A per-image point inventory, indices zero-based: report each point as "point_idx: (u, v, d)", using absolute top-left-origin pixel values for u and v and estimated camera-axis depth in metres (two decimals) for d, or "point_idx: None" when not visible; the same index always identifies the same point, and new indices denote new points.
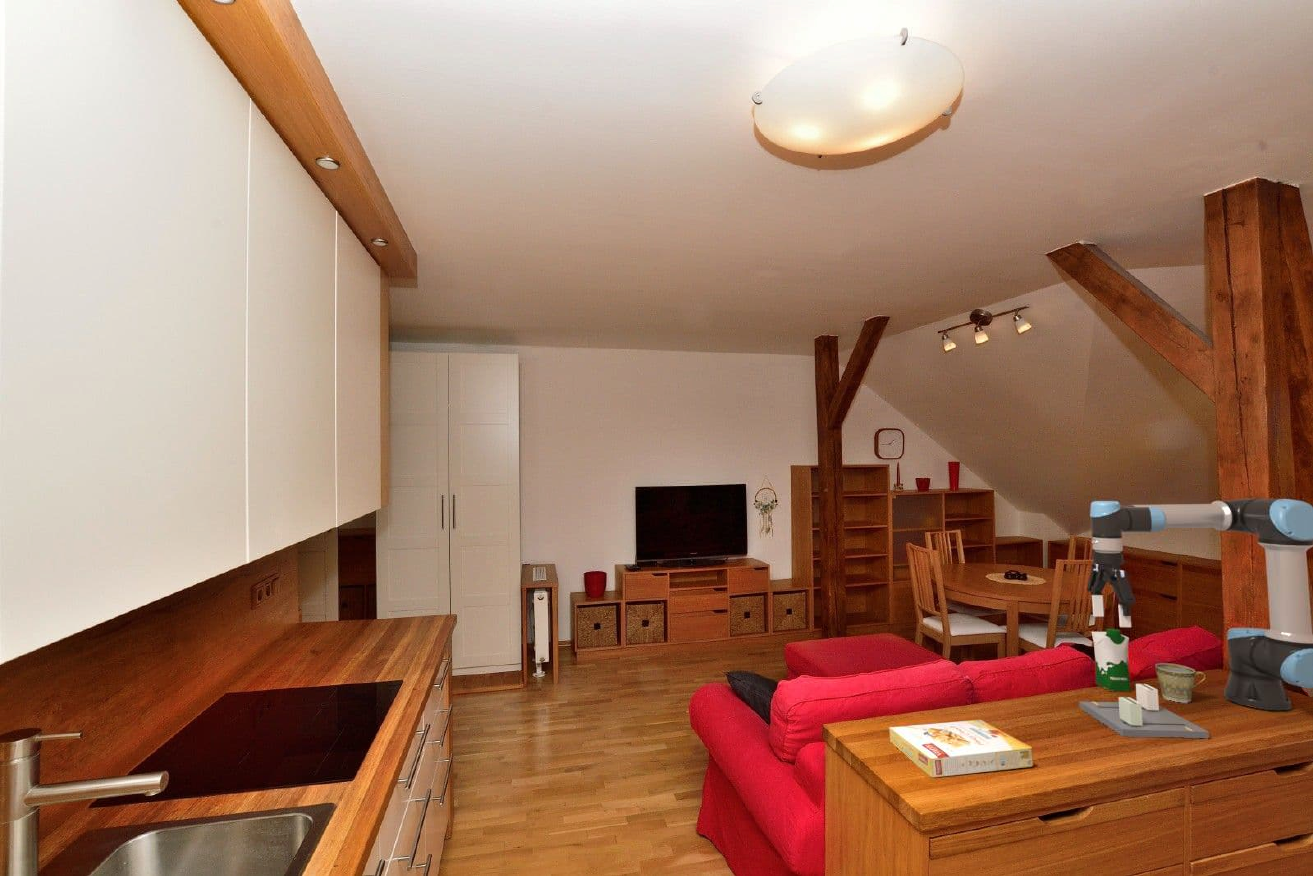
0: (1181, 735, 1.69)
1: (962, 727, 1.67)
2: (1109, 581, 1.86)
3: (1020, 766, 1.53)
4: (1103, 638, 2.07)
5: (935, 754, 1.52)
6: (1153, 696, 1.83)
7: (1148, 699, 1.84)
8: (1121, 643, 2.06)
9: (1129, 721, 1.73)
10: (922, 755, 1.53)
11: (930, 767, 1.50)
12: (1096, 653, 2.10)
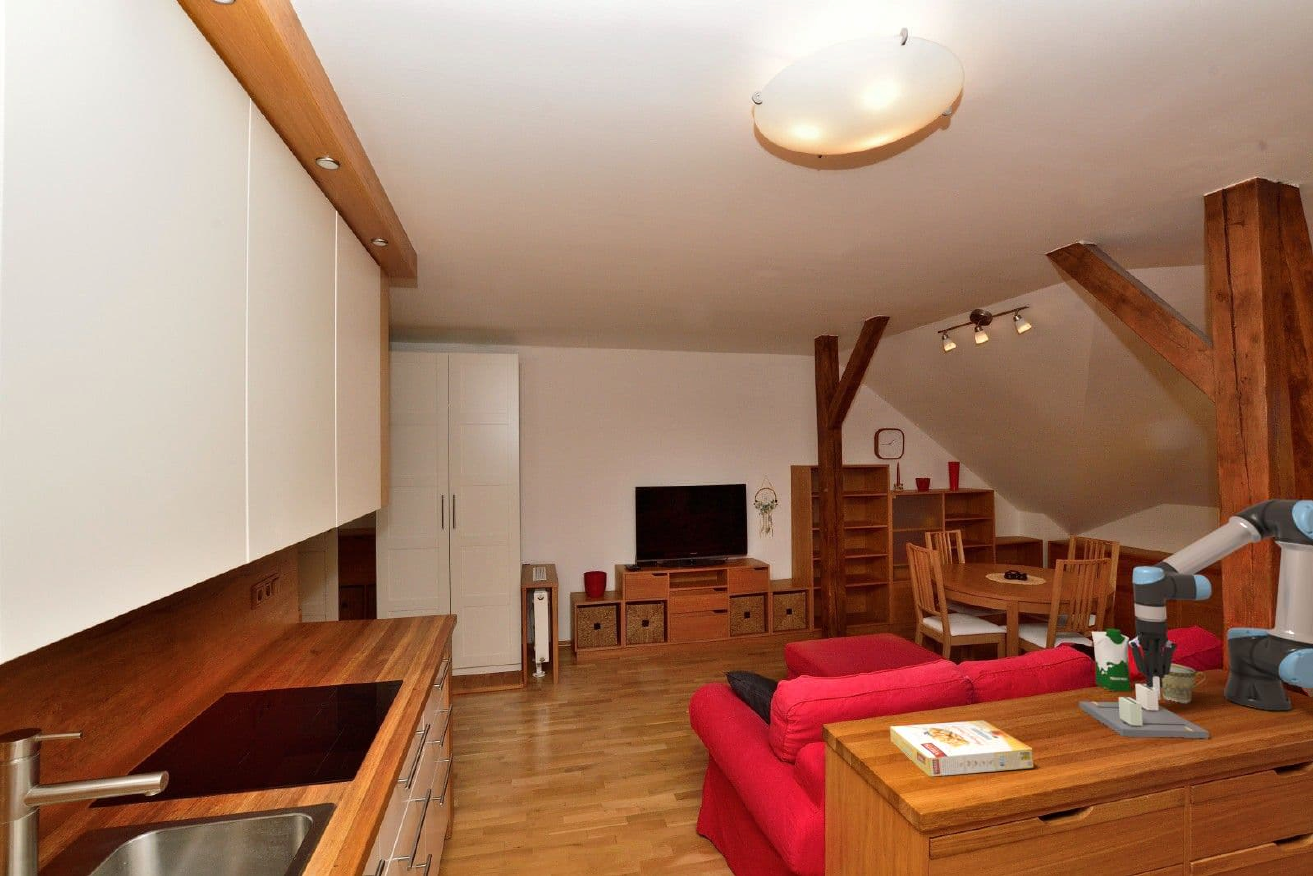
0: (1181, 735, 1.69)
1: (964, 727, 1.67)
2: None
3: (1020, 767, 1.53)
4: (1103, 638, 2.07)
5: (933, 754, 1.52)
6: (1153, 696, 1.83)
7: (1147, 699, 1.84)
8: (1121, 643, 2.06)
9: (1129, 721, 1.73)
10: (920, 754, 1.54)
11: (928, 766, 1.51)
12: (1096, 653, 2.10)
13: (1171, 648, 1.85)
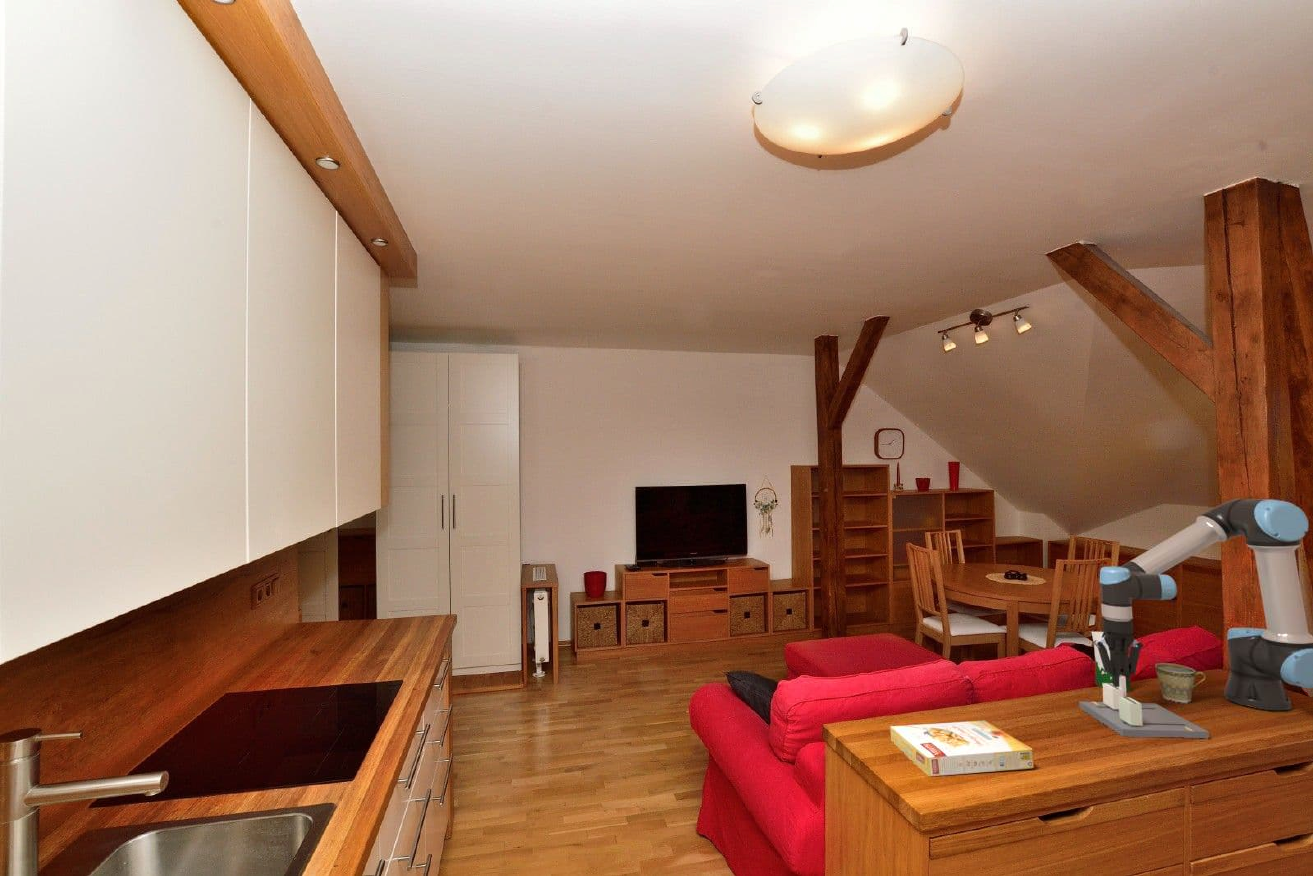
0: (1181, 735, 1.69)
1: (965, 727, 1.67)
2: None
3: (1020, 767, 1.53)
4: None
5: (932, 753, 1.52)
6: (1119, 695, 1.84)
7: (1114, 698, 1.85)
8: None
9: (1129, 721, 1.73)
10: (919, 754, 1.54)
11: (927, 766, 1.51)
12: (1096, 653, 2.10)
13: (1137, 648, 1.86)
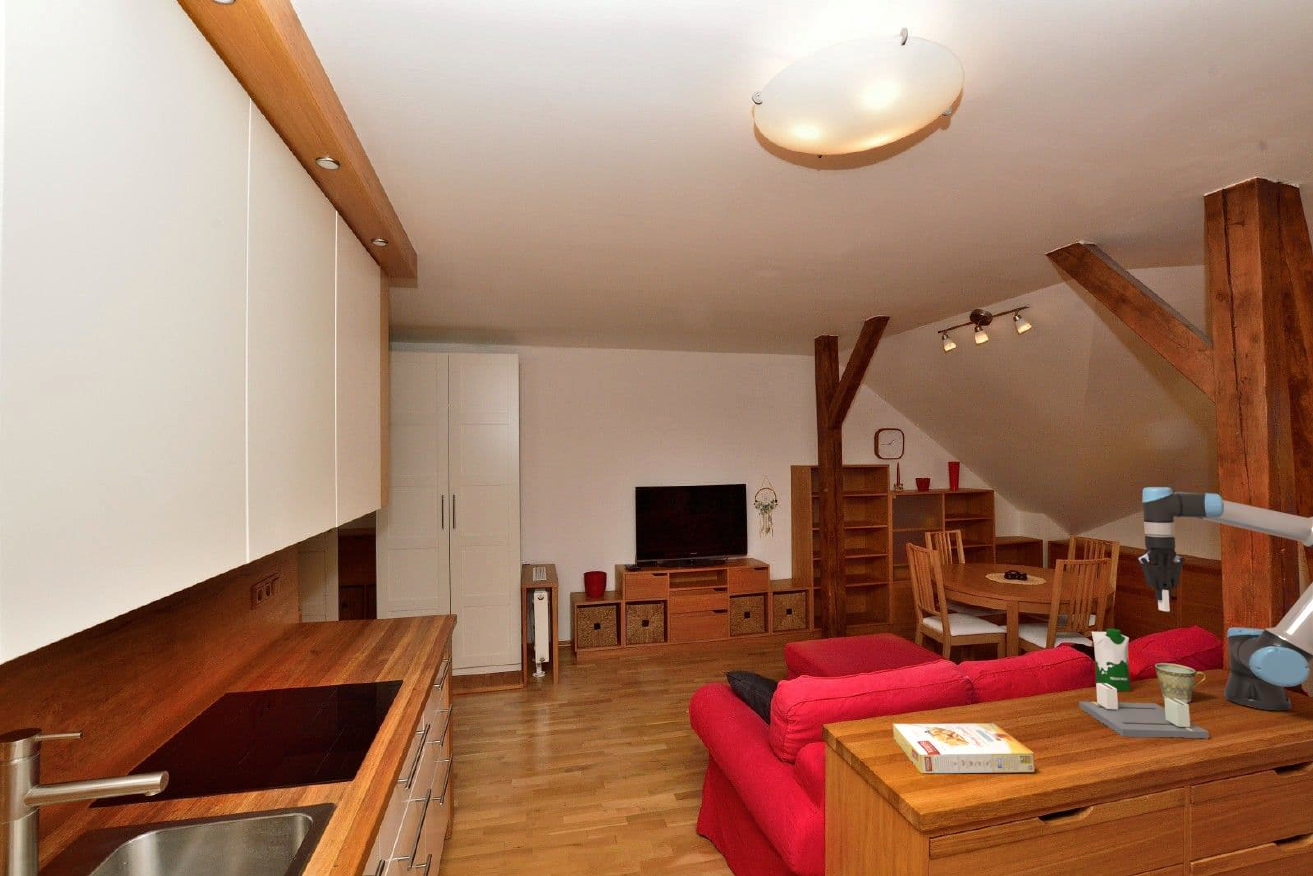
0: (1181, 735, 1.69)
1: (969, 728, 1.66)
2: None
3: (1020, 770, 1.51)
4: (1103, 638, 2.07)
5: (926, 751, 1.54)
6: (1112, 695, 1.85)
7: (1107, 698, 1.85)
8: (1121, 643, 2.06)
9: (1176, 722, 1.72)
10: (914, 751, 1.56)
11: (920, 763, 1.52)
12: (1096, 653, 2.10)
13: (1179, 563, 1.94)
